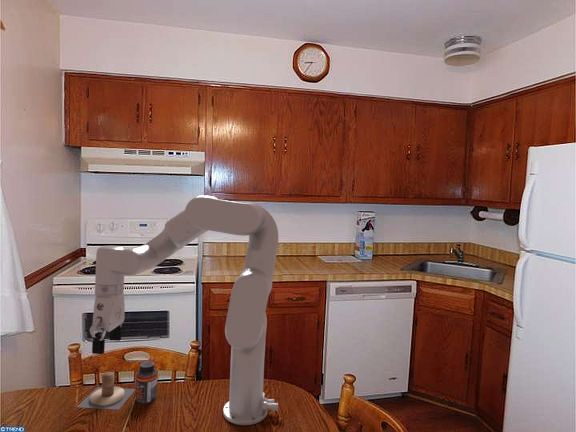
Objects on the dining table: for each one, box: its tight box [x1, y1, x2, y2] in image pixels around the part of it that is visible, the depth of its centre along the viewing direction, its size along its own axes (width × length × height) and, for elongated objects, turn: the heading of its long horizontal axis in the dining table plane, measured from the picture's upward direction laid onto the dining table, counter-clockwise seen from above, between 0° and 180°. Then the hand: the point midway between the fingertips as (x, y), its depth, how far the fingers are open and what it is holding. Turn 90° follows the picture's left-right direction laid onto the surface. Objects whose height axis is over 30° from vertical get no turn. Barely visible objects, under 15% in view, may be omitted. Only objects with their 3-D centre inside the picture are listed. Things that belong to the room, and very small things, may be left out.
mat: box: [76, 386, 136, 411], centre depth 108 cm, size 12×11×1 cm
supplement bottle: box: [134, 360, 158, 404], centre depth 108 cm, size 6×6×11 cm
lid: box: [90, 371, 124, 406], centre depth 107 cm, size 9×9×7 cm
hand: (107, 346), depth 107 cm, fingers open, 9 cm apart
